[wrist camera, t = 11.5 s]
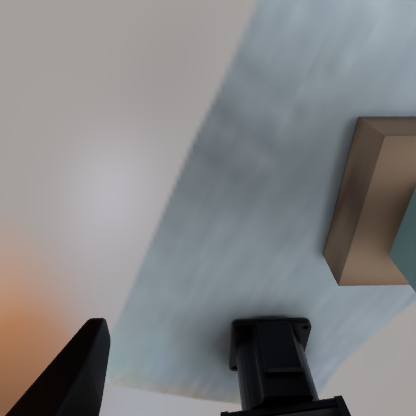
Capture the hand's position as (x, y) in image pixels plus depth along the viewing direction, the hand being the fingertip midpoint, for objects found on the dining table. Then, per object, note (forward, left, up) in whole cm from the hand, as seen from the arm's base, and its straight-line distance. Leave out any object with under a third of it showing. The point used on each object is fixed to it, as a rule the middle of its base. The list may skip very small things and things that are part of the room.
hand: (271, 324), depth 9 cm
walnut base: (-3, -12, -12) cm, 17 cm away
